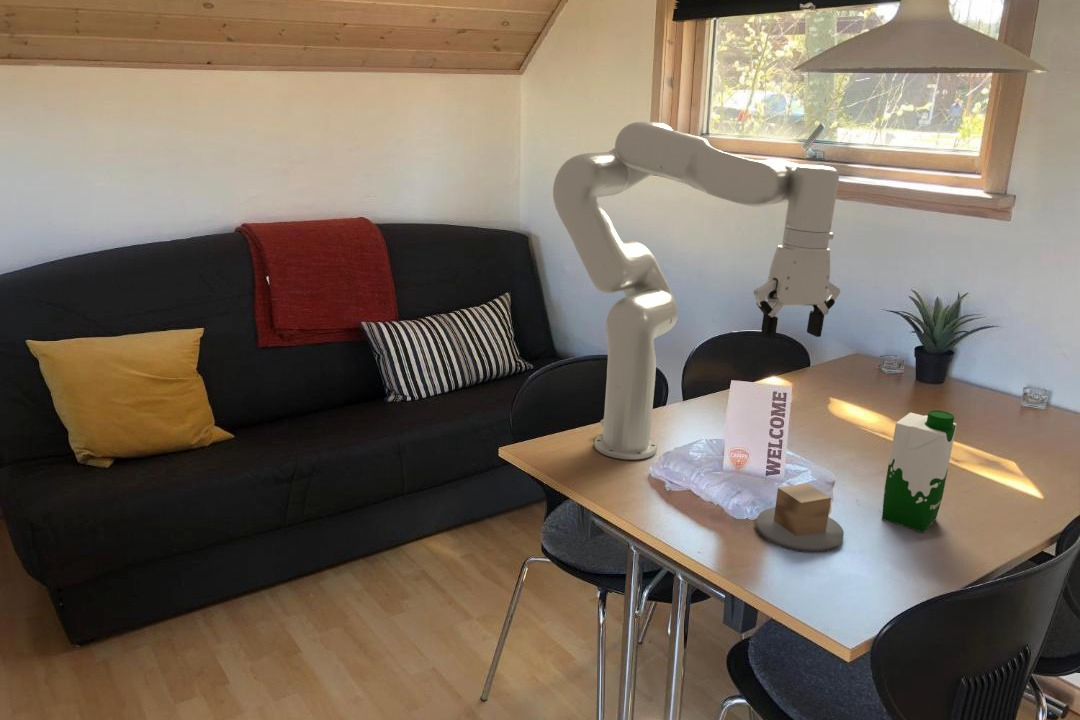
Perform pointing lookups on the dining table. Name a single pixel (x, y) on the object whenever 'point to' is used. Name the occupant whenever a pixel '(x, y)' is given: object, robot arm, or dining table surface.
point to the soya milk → (918, 469)
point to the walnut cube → (802, 509)
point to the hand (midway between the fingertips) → (790, 336)
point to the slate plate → (799, 543)
